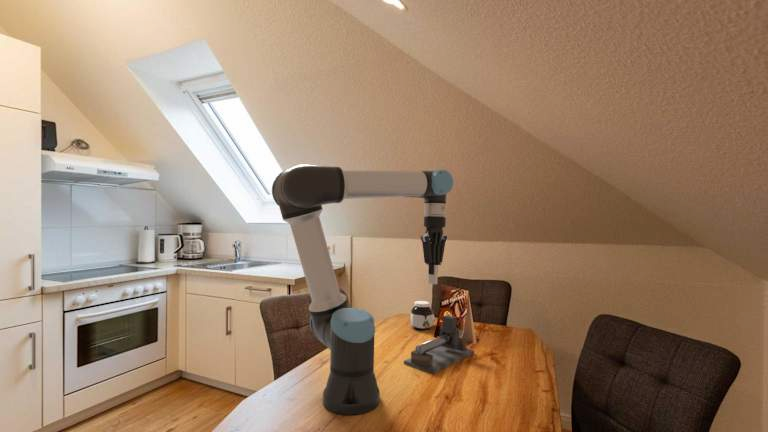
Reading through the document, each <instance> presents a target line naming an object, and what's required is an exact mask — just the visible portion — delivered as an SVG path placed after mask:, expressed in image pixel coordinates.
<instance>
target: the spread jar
mask: <svg viewBox="0 0 768 432" xmlns="http://www.w3.org/2000/svg"><path fill="white" fill-rule="evenodd" d="M413 305H414V306H412V308H411V310H410V325H411V326H412V327H411V328H413V329H414V330H417V331H429V330H431V328H432V327H433V325H434V322H435V319H436V318H435V315H434V312H433V309H432V308H431V307H430V301H425V300H417V301H414V303H413Z"/></svg>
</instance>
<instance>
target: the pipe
mask: <svg viewBox="0 0 768 432" xmlns="http://www.w3.org/2000/svg"><path fill="white" fill-rule="evenodd" d="M458 330H459V338H462V337H463V332H462V330H460V329H458ZM450 342H452V334H449V333H447V334H445V335H443V336H440V335H439V336H438V337H435V338H433V339H430V340H428V341H425V342H423V343H421V344H417V345H416V346H415V350H416V352H417V354H419V355H421V354H424V353H426V352H428V351H431V350H433V349H435V348H437V347H440V346H442V345H444V344H447V343H450Z"/></svg>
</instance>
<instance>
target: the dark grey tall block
mask: <svg viewBox="0 0 768 432" xmlns="http://www.w3.org/2000/svg"><path fill="white" fill-rule="evenodd" d="M459 330H460V329H458V328H457V316H453V315H448V314H445V315H443V316H442V326H441V327H439V337H440V336H443V335H445V334H447V333H449V334H452V342H450V343H447V344H444V345H442V346H444V347H447V348H451V349H454V350H455V349H457V348H459Z"/></svg>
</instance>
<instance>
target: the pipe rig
mask: <svg viewBox="0 0 768 432" xmlns="http://www.w3.org/2000/svg"><path fill="white" fill-rule="evenodd" d="M467 342H468V341H467V339H464V338H462V337H460V338H459V348H457V349H455V350H454V349H451V348H447V347H444V346H440V347H437V348H435V349H433V350H431V351H428V352H426V353H424V354H421V355H419V354H417V352H416V349H415V350H412V351H411V352H410V357H409V358H407V359H405V360H403V365H406V366H409V367H412V368H414V369H418V370H419V371H423V372H425V373H429V374H431V375H435V374H437V373H439V372H440V371H442V370H444V369H446V368H448V367H450V366H451V365H454V364H456V363H458V362H460V361H462V360H463V359H465V358H467V357H469V356H471V355H473V354H474V352H475V351H474V350H473V349H469V348H468V347H467V346H468V345H467Z"/></svg>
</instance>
